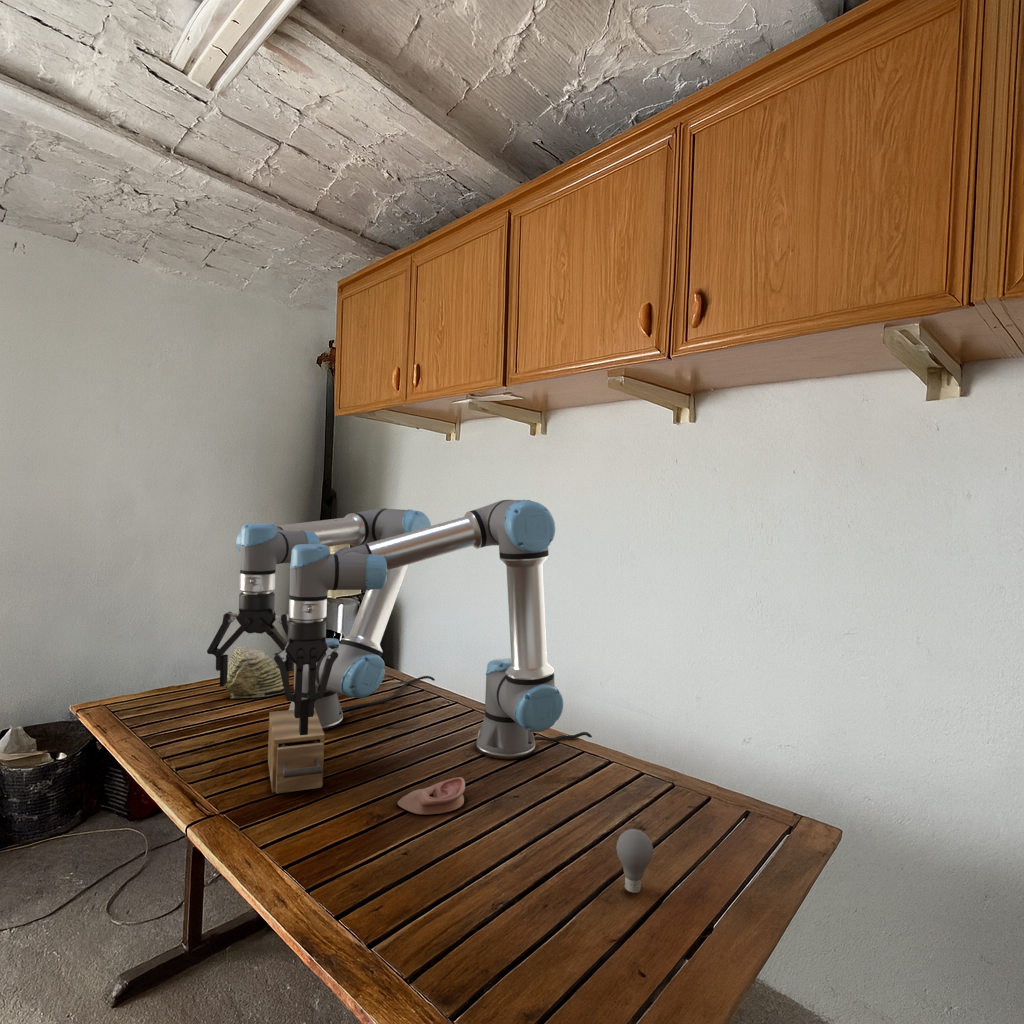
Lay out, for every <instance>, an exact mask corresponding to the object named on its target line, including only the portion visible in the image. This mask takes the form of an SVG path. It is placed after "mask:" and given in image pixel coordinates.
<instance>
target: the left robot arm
mask: <svg viewBox="0 0 1024 1024" xmlns="http://www.w3.org/2000/svg"><path fill="white" fill-rule="evenodd" d="M429 526H432V523H431V521H430V519H429V517H428V515H426V514H425V513H424V512H423V511H420V510H413V509H410V508H409V509H401V508H400V509H398V508H384V507H383V508H382V507H381V508H375V509H374V508H373V509H369V510H362V511H358V512H352V513H347V514H346V515H345V516H344V517H339V518H338V517H337V518H331V519H322V520H315V521H314V520H313V521H305V522H298V523H289V524H281V525H276V524H274V523H263V522H262V523H261V522H259V523H258V522H257V523H255V522H251V523H245V524H243V525H242V527H241V530H240V531H239V532H238V534H237V536H236V539H235V546H236V549H237V551H238V552H239V591H240V593H239V594H238V613H234V612H232V611H227V612H225V613H224V614H223V615H222V622H221V625H220V626H219V629H218V630H217V632H216V634H215V636H214V637H213V639H212V641H211V642H210V644H209V646H208V648H207V649H206V653H207V654H208V655H213V656H214V657H215V671H217V672H219V687H224V685H225V684H226V683H227V671H228V660H229V654H226V652H227V651H228V650H229V648H231V646H232V645H234V644H235V642H236V641H237V640H238V639H239V638H240V637H241V636H242V634H244V633H247V634H265V633H266V634H267V636H269V637H270V638H271V639H272V640H273V642H274V643H275V644H276V645H277V646H278V647H279V649H280V650H281V651H282V650H284V649H285V645H286V643H287V640H285V638H284V637H283V636H282V635H281V633H280V632H279V631H278V630H277V628H276V626H275V625H274V623H275V622H276V620H277V621H278V623H279V624H281V626H282V629H283V632H284V634H285V635H286V638H288V622H289V621H290V620H291V619H290V618H289V617H288V614H289V612H286V611H285V612H284V613H278V614H277V613H276V611H275V608H276V607H275V605H276V602H275V601H276V594H275V592H274V590H275V589H276V571H277V569H276V568H277V565H280V564H291V553H292V549H293V547H294V546H296V545H299V544H321V545H327V546H328V547H329V548H330V547H336V546H342V545H347V544H348V545H349V546H352V547H356V546H360V545H364V544H367V543H371V542H374V541H378V540H382V539H385V538H389V537H393V536H396V535H400V534H404V533H407V532H411V531H415V530H418V529H422V528H426V527H429ZM408 567H409V565H405V566H402V567H398V568H395V569H392V570H388V571H387V579H386V584H385V586H384V587H383V588H382V589H373V590H369V591H368V590H365V593H364V596H363V598H362V601H361V603H360V606H359V608H358V610H357V614H356V617H355V619H354V622H353V625H352V627H351V630H350V631H349V634H348V635H346V636H344V637H343V638H341V640H340V641H339V639H338V638H335V637H333V638H332V637H329V638H327V637H326V642H327V644H328V647H329V648H330V649H332V650H336V651H337V653H338V657H337V659H336V660H335V661H334V663H333V665H332V669H331V672H330V676H329V679H328V683H327V687H326V690H325V694H324V697H323V698H319V699H317V700H316V701H315V702H314V708H315V710H316V713H317V716H318V718H319V721H320V724H321V726H322V729H323V732H325V731H329V730H332V729H335V728H337V727H339V726H340V725H342V723H343V722H344V714H343V711H345V710H346V711H347V710H351V709H357V708H364V707H368V706H374V705H378V704H382V703H385V702H388V701H390V700H393V699H395V698H396V697H397V696H398V695H400V693H401V691H402V690H403V689H404V688H405V687H406V686H408V685H410V684H413V683H415V682H418V681H422V680H425V679H429V680H431V681H433V682H435V681H436V679H435V678H434V677H433V676H430V675H423V676H419V677H416V678H414V679H412V680H408V681H405V682H404V683H403V684H402V685H401V686H400V687H399V688H398V689H397V691H396V692H395V693H394V694H392V695H390V696H388V697H385V698H382V699H379V700H375V701H371V702H365V703H359V704H353V705H348V706H341V702H340V699H339V695H338V694H340V695H343V696H346V697H348V698H355V699H365V698H367V697H370V695H372V694H374V693H375V692H376V691H377V690H378V689H379V688H380V686H381V685H382V682H383V681H384V678H385V673H386V668H385V666H386V665H385V660H383V658H382V656H383V653H384V651H383V649H382V647H381V642H382V640H383V637H384V635H385V631H386V629H387V626H388V623H389V619H390V617H391V615H392V612H393V609H394V606H395V603H396V601H397V598H398V594H399V593H400V589H401V586H402V584H403V581H404V578H405V575H406V572H407V570H408ZM235 620H236V621H237V622H238V624H239V627H238V628H237V629H236V630H235V631H234V633H233V634H232V635H231V636H230V637H229V638H228V639H227V640H226V641H225V642H224V644H222V646H221V647H219V646H220V644H221V642H222V641H223V639H224V637H225V635H226V633H227V631H228V630H229V628H230V625H231V624H232V623H233V622H234V621H235ZM218 647H219V648H218ZM325 655H326V652H325V653H324V654H323V656H322V657H321V658H320V660H319V661H318V662H317V663H316V680H315V692H316V691H317V689H318V685H319V682H320V678H321V675H322V671H323V668H324V664H325V661H326V657H325ZM284 663H285V667H286V671H287V675H288V680H289V681H290V672H293V694H295V670H296V666H295V663H294V662H293V661H292V659H291V658H290V657H289V655H288V654H287V655H286V661H285V662H284ZM304 699H308V664H305V665H303V679H302V700H304ZM288 710H294V702H292V701H290V704H289V708H288Z"/></svg>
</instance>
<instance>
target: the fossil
mask: <svg viewBox="0 0 1024 1024" xmlns="http://www.w3.org/2000/svg"><path fill="white" fill-rule="evenodd" d="M223 688H225V690H226V691H228V693H229V698H230V699H250V698H264V697H271V696H275V695H281V694H284V693H285V691H284V687H283V683H282V678H281V674H280V669H279V667H277V664H276V662H275V660H274V659H272V658H271V657H270V656H269V655H268V654H267V653H266V652H265V650H264V649H263V648H260V647H258V648H251V647H247V646H246V647H245V646H238V647H237V648H236V649H235V650H233V651H232V653H231V656H230V657H229V658H228V671H227V683H226V684H225V685H224V686H223Z"/></svg>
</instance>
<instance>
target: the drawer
mask: <svg viewBox="0 0 1024 1024" xmlns="http://www.w3.org/2000/svg"><path fill="white" fill-rule="evenodd" d="M322 768H323V769H324V765H323V742H322V743H318V741H317V740H309V741H300V742H291V743H282V744H279V747H278V748H277V771H276V792H275V794H285V793H290V792H298V791H299V792H300V791H304V790H305V791H307V790H313V789H320V788H322V787H323V786H322Z"/></svg>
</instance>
